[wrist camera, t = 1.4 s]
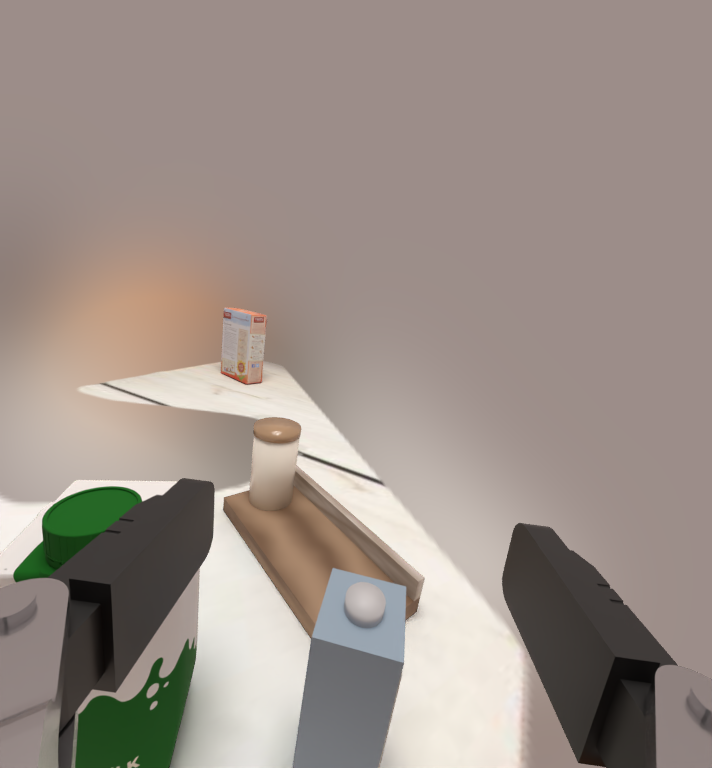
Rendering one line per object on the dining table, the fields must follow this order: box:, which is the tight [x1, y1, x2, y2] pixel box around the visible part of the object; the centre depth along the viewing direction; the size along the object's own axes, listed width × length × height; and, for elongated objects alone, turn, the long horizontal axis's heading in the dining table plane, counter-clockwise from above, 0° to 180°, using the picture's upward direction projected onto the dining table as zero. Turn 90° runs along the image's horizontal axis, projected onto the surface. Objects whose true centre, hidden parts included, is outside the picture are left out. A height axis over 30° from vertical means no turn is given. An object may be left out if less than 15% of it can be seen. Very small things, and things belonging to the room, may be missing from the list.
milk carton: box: [0, 480, 200, 768], centre depth 22 cm, size 9×9×20 cm
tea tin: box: [293, 568, 406, 768], centre depth 23 cm, size 5×5×15 cm
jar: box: [249, 417, 301, 511], centre depth 48 cm, size 6×6×11 cm
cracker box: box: [221, 308, 267, 384], centre depth 107 cm, size 14×6×21 cm, turn 51°
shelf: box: [223, 465, 425, 638], centre depth 43 cm, size 11×26×4 cm, turn 40°
